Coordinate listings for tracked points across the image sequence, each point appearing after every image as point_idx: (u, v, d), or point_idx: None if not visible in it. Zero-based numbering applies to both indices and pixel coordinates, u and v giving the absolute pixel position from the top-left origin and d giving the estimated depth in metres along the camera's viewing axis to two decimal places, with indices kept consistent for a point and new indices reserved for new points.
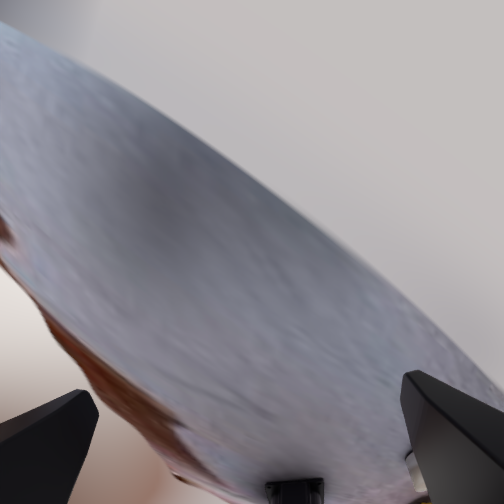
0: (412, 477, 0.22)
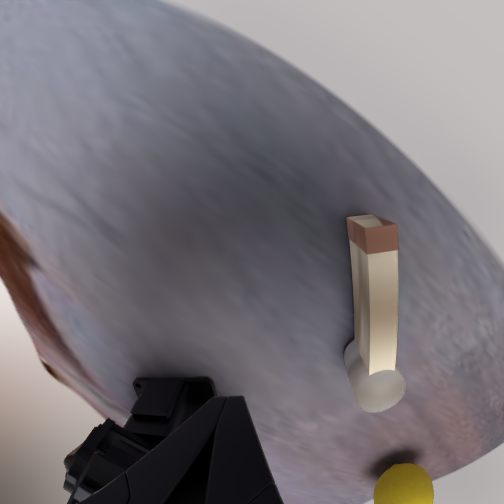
0: (351, 381, 0.17)
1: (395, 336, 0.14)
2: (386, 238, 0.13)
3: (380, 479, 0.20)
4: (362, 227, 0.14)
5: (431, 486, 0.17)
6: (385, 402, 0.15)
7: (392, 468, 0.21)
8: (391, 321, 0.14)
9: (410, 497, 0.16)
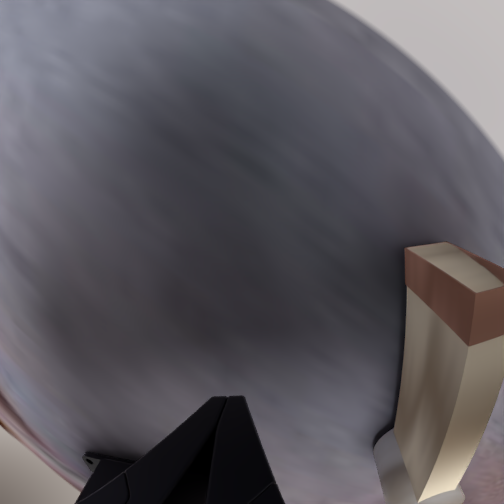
0: (386, 496, 0.08)
1: (471, 455, 0.06)
2: None
3: None
4: (463, 287, 0.05)
5: None
6: None
7: None
8: (473, 439, 0.06)
9: None
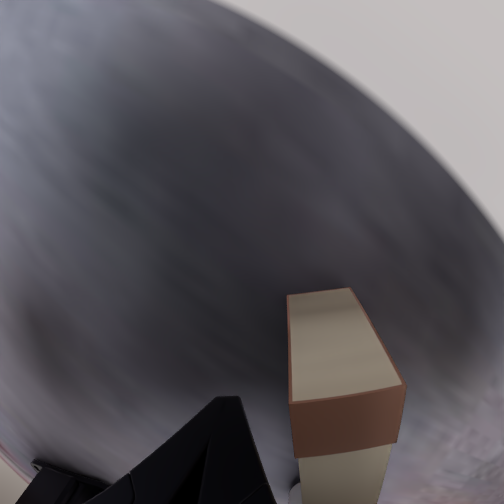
0: None
1: None
2: (363, 423, 0.04)
3: None
4: (289, 383, 0.04)
5: None
6: None
7: None
8: None
9: None
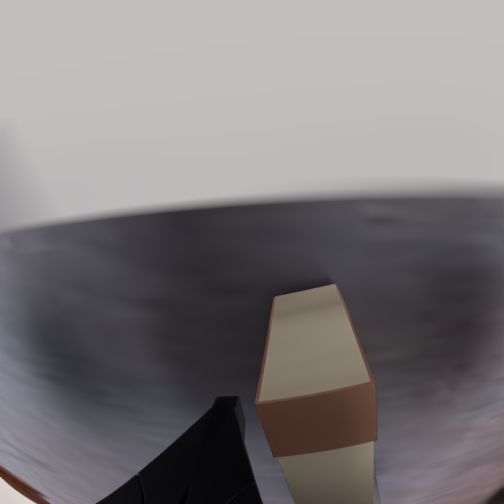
0: None
1: None
2: (335, 422, 0.04)
3: None
4: (260, 384, 0.04)
5: None
6: None
7: None
8: None
9: None
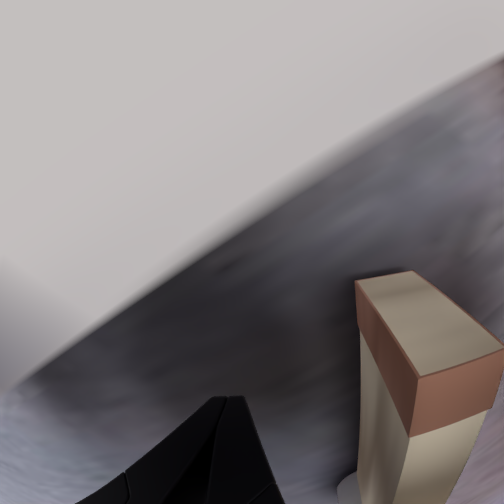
0: None
1: None
2: (472, 390, 0.03)
3: None
4: (407, 361, 0.04)
5: None
6: None
7: None
8: None
9: None
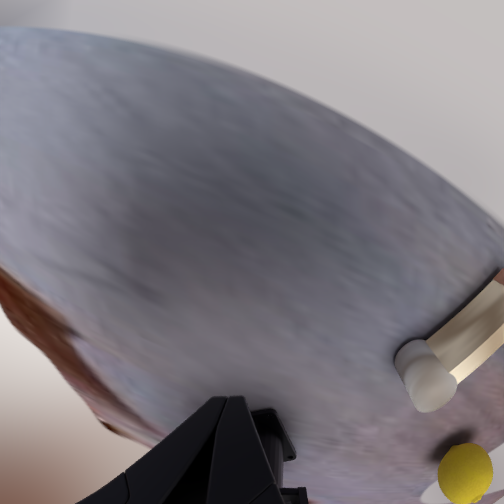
0: (421, 366, 0.16)
1: (482, 362, 0.14)
2: None
3: (442, 463, 0.20)
4: None
5: (489, 461, 0.16)
6: (427, 404, 0.15)
7: (451, 451, 0.20)
8: (492, 350, 0.14)
9: (472, 475, 0.16)
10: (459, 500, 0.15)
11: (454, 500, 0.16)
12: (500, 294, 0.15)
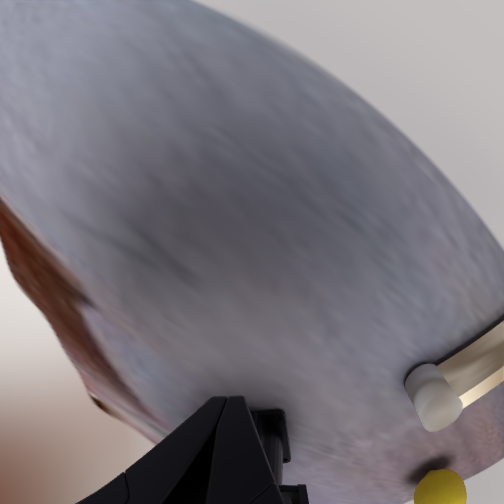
0: (434, 388, 0.16)
1: (486, 392, 0.15)
2: None
3: (420, 485, 0.20)
4: None
5: (465, 488, 0.17)
6: (433, 424, 0.15)
7: (430, 474, 0.21)
8: (495, 383, 0.15)
9: (449, 498, 0.16)
10: None
11: None
12: None
